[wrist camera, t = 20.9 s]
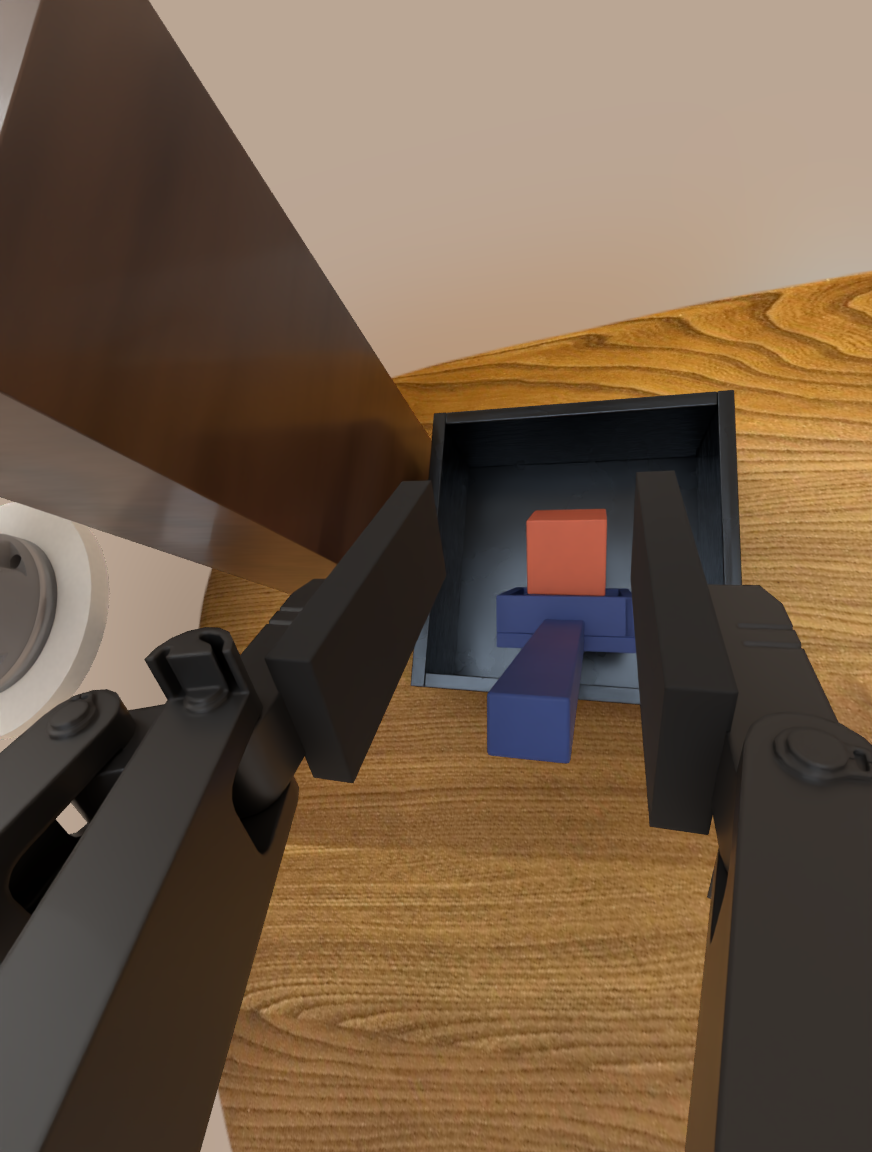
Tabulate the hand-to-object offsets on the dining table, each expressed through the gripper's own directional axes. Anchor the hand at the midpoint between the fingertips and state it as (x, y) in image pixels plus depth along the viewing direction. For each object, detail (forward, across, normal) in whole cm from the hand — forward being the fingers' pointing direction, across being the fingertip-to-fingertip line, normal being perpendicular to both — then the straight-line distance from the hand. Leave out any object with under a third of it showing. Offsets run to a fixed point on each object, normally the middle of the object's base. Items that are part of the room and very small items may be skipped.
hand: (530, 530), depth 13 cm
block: (+14, 0, -11) cm, 18 cm away
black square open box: (+20, 0, -13) cm, 24 cm away
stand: (+22, -14, -11) cm, 28 cm away
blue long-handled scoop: (+6, 0, -10) cm, 12 cm away
